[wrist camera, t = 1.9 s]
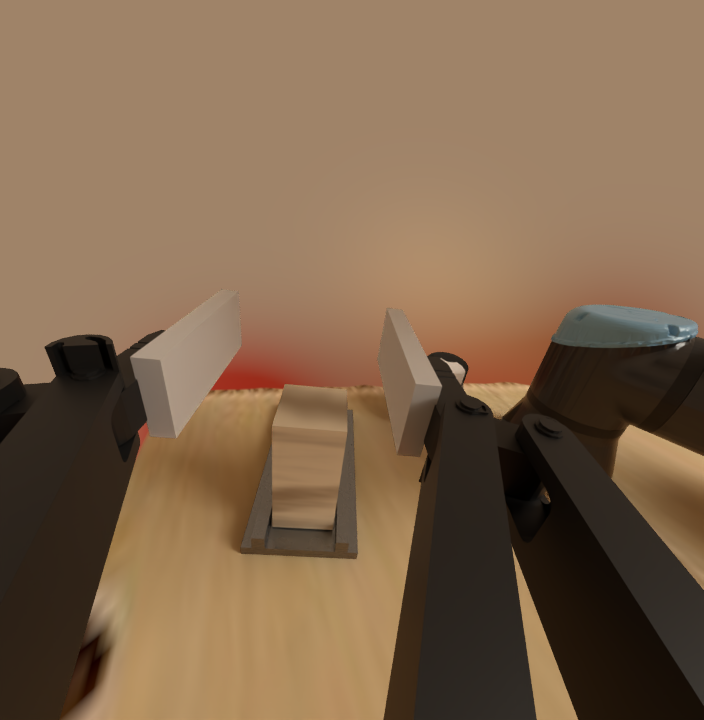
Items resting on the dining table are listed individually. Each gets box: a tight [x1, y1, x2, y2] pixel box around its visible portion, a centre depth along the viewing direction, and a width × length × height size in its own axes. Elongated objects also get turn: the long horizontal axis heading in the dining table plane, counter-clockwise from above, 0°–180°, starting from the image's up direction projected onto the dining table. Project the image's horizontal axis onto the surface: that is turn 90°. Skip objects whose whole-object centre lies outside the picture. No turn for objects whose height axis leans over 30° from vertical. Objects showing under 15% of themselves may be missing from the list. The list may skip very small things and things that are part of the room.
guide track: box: [241, 410, 358, 559], centre depth 38 cm, size 22×11×2 cm, turn 1°
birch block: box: [272, 384, 347, 530], centre depth 30 cm, size 6×6×13 cm
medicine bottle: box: [429, 352, 468, 388], centre depth 47 cm, size 7×7×12 cm
